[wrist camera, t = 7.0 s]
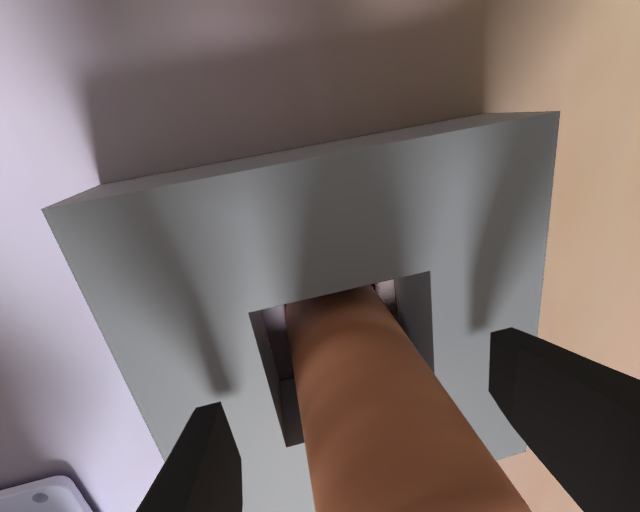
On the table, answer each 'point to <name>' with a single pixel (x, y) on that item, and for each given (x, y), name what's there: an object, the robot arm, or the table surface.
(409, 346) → the peg
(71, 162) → the table surface
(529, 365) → the robot arm
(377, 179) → the socket block
